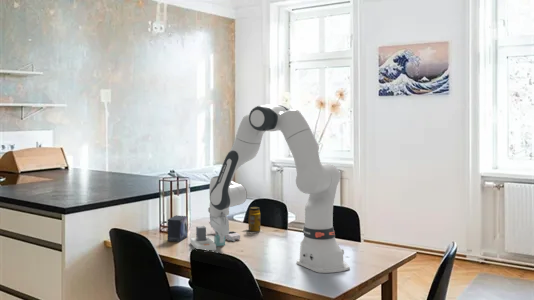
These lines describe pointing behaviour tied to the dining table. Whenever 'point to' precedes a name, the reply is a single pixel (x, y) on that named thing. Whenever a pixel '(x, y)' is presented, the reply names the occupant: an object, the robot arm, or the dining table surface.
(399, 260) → the dining table surface
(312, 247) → the robot arm
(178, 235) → the small box
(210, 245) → the power strip
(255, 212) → the condiment
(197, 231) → the block
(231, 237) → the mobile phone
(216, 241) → the teal cube
